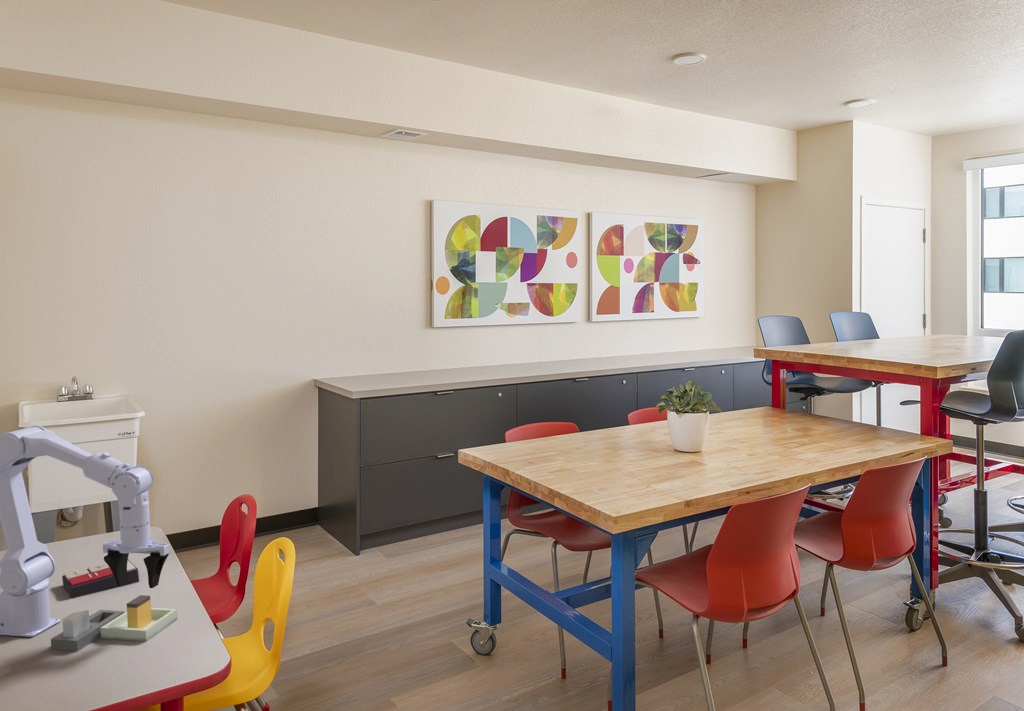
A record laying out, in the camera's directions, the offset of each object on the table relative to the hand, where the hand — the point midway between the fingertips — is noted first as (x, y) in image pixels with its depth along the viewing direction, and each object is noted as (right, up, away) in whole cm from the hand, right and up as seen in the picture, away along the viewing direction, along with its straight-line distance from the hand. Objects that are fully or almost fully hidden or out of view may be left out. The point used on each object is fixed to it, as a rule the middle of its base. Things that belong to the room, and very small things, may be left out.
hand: (137, 585), depth 153 cm
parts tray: (0, -10, +1) cm, 10 cm away
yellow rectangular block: (0, -9, +1) cm, 9 cm away
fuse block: (-9, -10, -2) cm, 14 cm away
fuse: (-10, -10, -5) cm, 15 cm away
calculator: (-23, -9, +26) cm, 36 cm away
